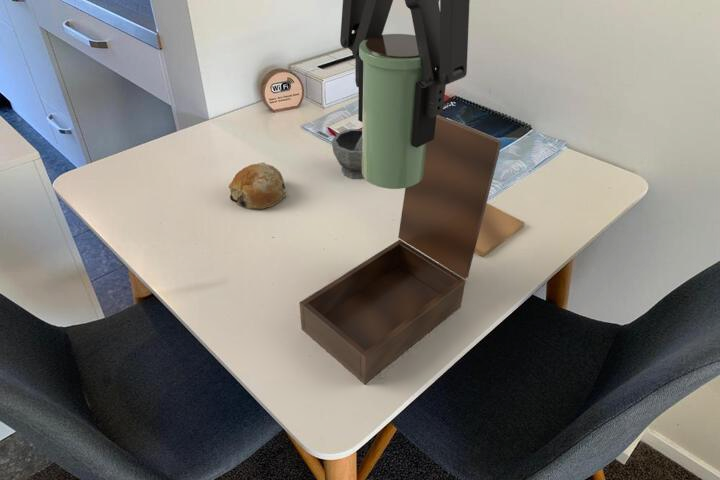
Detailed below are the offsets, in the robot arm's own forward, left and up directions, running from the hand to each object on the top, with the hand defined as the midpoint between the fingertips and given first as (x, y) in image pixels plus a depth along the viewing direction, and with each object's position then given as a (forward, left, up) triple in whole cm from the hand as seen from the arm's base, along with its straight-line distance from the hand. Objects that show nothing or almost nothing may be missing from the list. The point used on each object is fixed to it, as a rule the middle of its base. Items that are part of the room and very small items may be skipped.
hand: (395, 129), depth 56 cm
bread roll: (+18, +33, -30) cm, 48 cm away
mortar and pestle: (+35, +20, -30) cm, 50 cm away
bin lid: (+10, -4, -14) cm, 17 cm away
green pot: (0, 0, -5) cm, 5 cm away
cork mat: (+27, -6, -30) cm, 41 cm away
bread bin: (0, 0, -30) cm, 30 cm away
